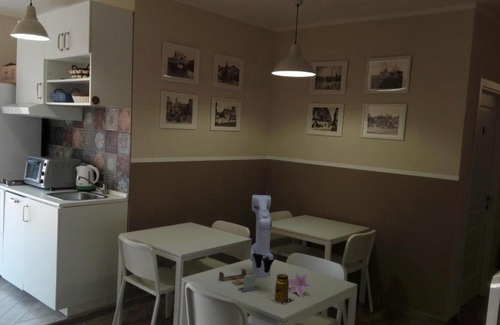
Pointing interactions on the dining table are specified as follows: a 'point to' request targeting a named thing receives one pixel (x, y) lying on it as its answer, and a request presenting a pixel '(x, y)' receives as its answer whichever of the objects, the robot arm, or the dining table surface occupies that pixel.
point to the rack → (234, 277)
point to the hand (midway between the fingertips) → (262, 270)
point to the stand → (249, 289)
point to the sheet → (249, 282)
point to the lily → (299, 284)
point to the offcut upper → (238, 282)
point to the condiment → (282, 289)
